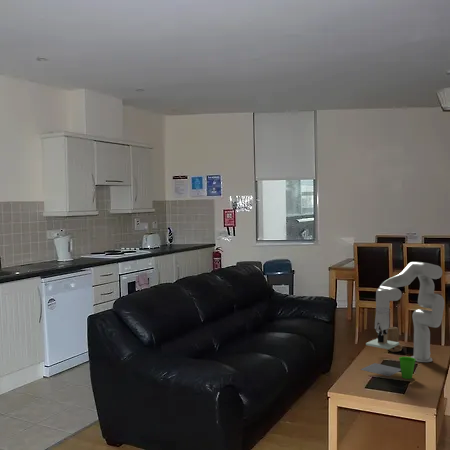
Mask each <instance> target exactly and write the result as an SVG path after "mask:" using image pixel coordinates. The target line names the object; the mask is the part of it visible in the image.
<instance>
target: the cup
mask: <svg viewBox="0 0 450 450" xmlns="http://www.w3.org/2000/svg"><path fill="white" fill-rule="evenodd" d="M398 359H399V363H400V364H399V367H400V369H401V371H400V372H401V377H402V378H403V379H405V380H411V379H413V374H414V371H415V370H414V369H415V364H416V362H417V361H416V359H414V358H412V357H411V356H400V357H398Z"/></svg>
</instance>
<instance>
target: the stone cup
mask: <svg viewBox="0 0 450 450" xmlns="http://www.w3.org/2000/svg"><path fill="white" fill-rule="evenodd" d="M399 338H400V331H399V328H398V327H396V326H389V328H388V333H387V340H388V341H394V342H399ZM402 349H403V345H401V344H399V345H397V346H395V347H393V348H391V349H387V350H388V351H390V352H393V353H397V352H401V351H402Z"/></svg>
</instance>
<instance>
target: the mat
mask: <svg viewBox="0 0 450 450" xmlns="http://www.w3.org/2000/svg"><path fill="white" fill-rule="evenodd" d="M360 371H365V372H370V373H373V374H379V375H382V376H386V377H391V376H393V375H395V374H397V373H400V372H401V367H400V368H399V367H394V366H390V365H385V364H381V363H375V362H374V363H372V364H369V365H367V366H365V367H363V368H361V369H360Z"/></svg>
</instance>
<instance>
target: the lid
mask: <svg viewBox="0 0 450 450" xmlns="http://www.w3.org/2000/svg"><path fill="white" fill-rule="evenodd" d="M383 336H384V342H378V338H375V339H372V340H369V341H368V342H365V346H369V347H374V348H379V349H385V350H388V349H391V348H393V347H395V346H397V345H400V342H399V341H398V342H394V341H388V340H387V334H383Z"/></svg>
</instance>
